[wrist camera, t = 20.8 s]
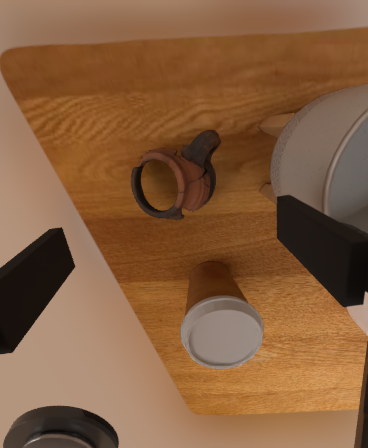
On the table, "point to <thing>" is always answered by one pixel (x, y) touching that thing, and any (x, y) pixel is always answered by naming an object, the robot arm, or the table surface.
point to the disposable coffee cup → (219, 320)
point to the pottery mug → (183, 175)
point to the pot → (360, 314)
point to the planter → (324, 155)
